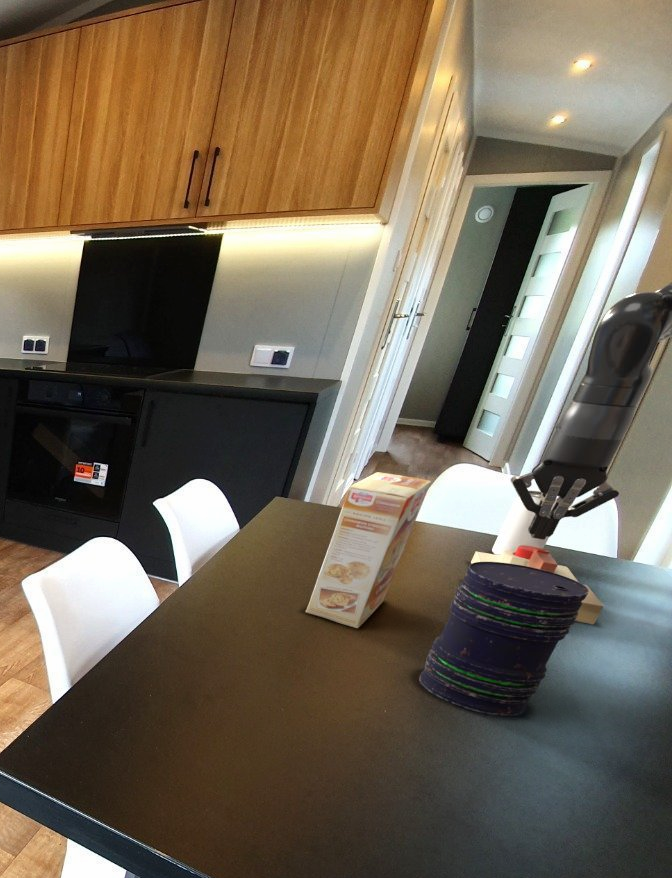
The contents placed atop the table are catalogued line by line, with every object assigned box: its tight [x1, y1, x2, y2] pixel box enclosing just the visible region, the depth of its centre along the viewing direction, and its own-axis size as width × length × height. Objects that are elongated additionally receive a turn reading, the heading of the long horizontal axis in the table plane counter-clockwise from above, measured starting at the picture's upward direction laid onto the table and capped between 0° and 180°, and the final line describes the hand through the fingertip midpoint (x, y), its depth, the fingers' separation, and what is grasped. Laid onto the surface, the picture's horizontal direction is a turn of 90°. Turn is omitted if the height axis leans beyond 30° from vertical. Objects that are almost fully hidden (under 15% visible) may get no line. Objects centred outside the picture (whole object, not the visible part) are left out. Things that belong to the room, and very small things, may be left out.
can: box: [491, 490, 558, 556], centre depth 117 cm, size 6×6×12 cm
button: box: [515, 545, 545, 560], centre depth 108 cm, size 4×4×2 cm
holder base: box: [465, 573, 604, 625], centre depth 100 cm, size 14×11×3 cm
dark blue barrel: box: [418, 562, 589, 717], centre depth 73 cm, size 10×10×15 cm
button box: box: [470, 550, 579, 582], centre depth 109 cm, size 12×9×4 cm
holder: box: [527, 549, 559, 573], centre depth 98 cm, size 7×2×5 cm, turn 144°
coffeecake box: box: [305, 471, 433, 629], centre depth 93 cm, size 15×7×20 cm, turn 131°
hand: (537, 537), depth 107 cm, fingers closed
